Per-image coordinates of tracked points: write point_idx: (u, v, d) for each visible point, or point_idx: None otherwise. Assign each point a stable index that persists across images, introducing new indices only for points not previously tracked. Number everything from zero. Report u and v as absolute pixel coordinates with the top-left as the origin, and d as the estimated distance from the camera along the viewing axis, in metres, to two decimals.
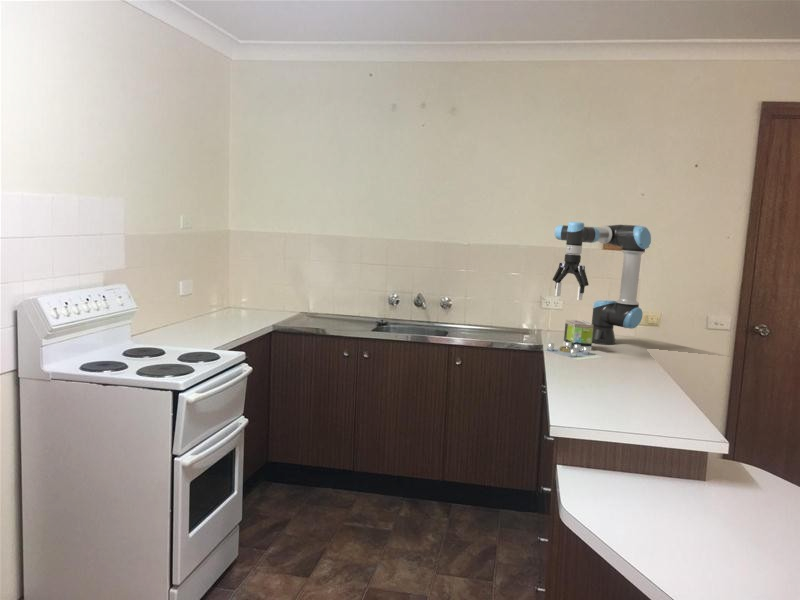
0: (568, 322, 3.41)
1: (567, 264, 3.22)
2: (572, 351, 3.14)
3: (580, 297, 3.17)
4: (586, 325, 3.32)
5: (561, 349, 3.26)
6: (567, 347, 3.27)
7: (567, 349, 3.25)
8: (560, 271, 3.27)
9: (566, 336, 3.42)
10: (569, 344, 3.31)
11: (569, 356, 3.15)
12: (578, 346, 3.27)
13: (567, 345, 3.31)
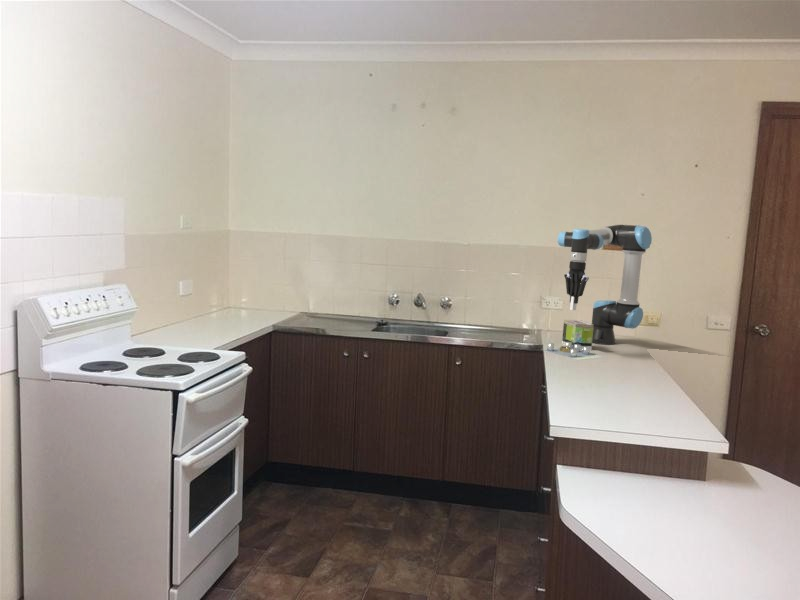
0: (567, 322, 3.41)
1: (571, 270, 3.21)
2: (572, 351, 3.14)
3: (574, 307, 3.22)
4: (586, 325, 3.33)
5: (561, 349, 3.26)
6: (567, 347, 3.27)
7: (567, 349, 3.25)
8: (569, 282, 3.24)
9: (565, 336, 3.42)
10: (569, 344, 3.31)
11: (569, 356, 3.15)
12: (578, 346, 3.27)
13: (567, 345, 3.31)
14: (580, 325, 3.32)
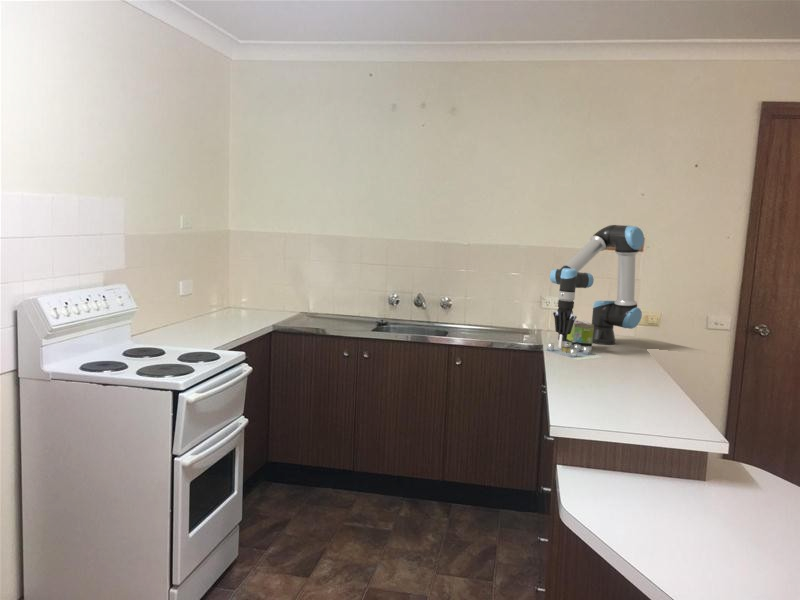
0: None
1: (559, 308, 3.27)
2: (572, 351, 3.14)
3: (562, 345, 3.28)
4: (586, 325, 3.33)
5: (563, 349, 3.25)
6: (569, 347, 3.26)
7: (569, 349, 3.24)
8: (558, 320, 3.30)
9: (567, 336, 3.43)
10: (569, 344, 3.31)
11: (569, 356, 3.15)
12: (578, 346, 3.27)
13: (567, 345, 3.31)
14: (580, 325, 3.32)
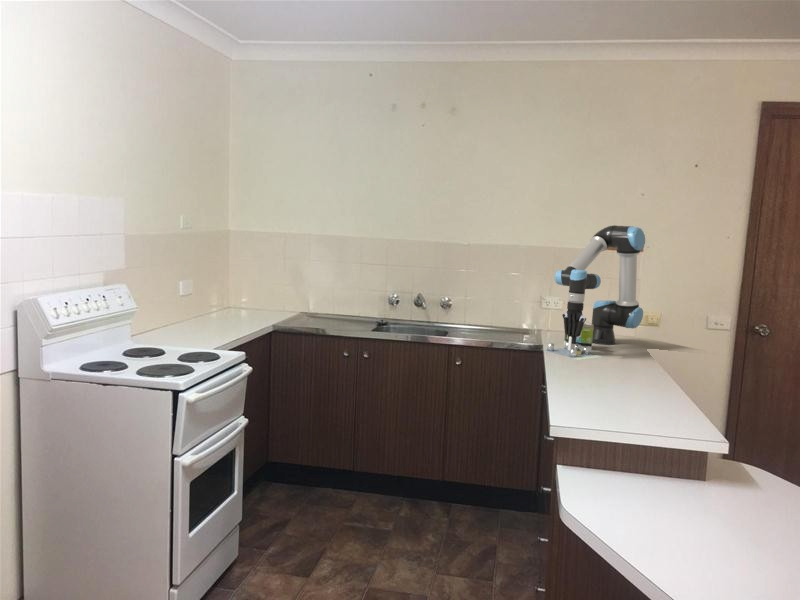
0: None
1: (569, 310, 3.23)
2: (572, 351, 3.14)
3: (572, 347, 3.23)
4: (586, 325, 3.33)
5: None
6: (578, 350, 3.22)
7: (579, 352, 3.19)
8: (567, 322, 3.25)
9: (567, 336, 3.43)
10: None
11: (569, 356, 3.15)
12: (578, 346, 3.27)
13: (567, 345, 3.31)
14: None
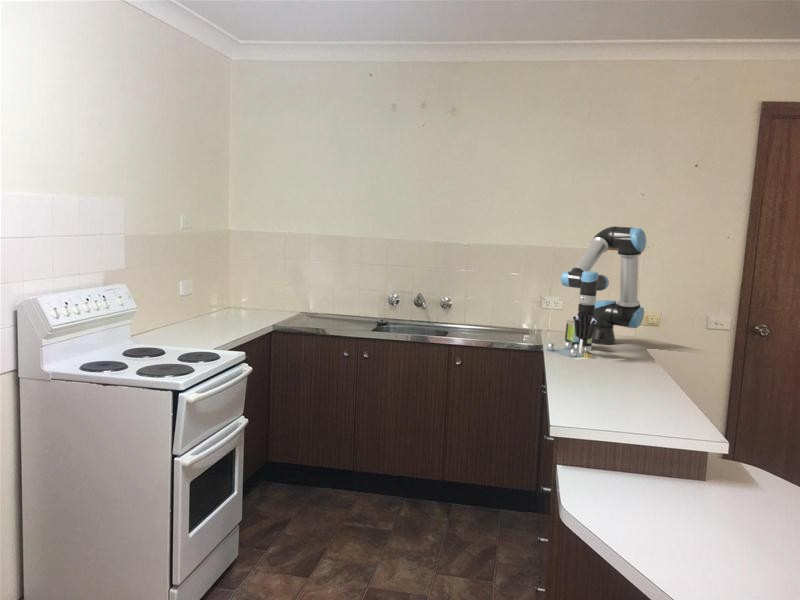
0: (569, 322, 3.42)
1: (580, 312, 3.18)
2: (572, 351, 3.14)
3: (583, 350, 3.18)
4: None
5: (584, 355, 3.15)
6: (589, 353, 3.17)
7: (590, 355, 3.14)
8: (578, 324, 3.20)
9: (567, 336, 3.43)
10: (569, 344, 3.31)
11: (569, 356, 3.15)
12: (578, 346, 3.27)
13: (567, 345, 3.31)
14: None
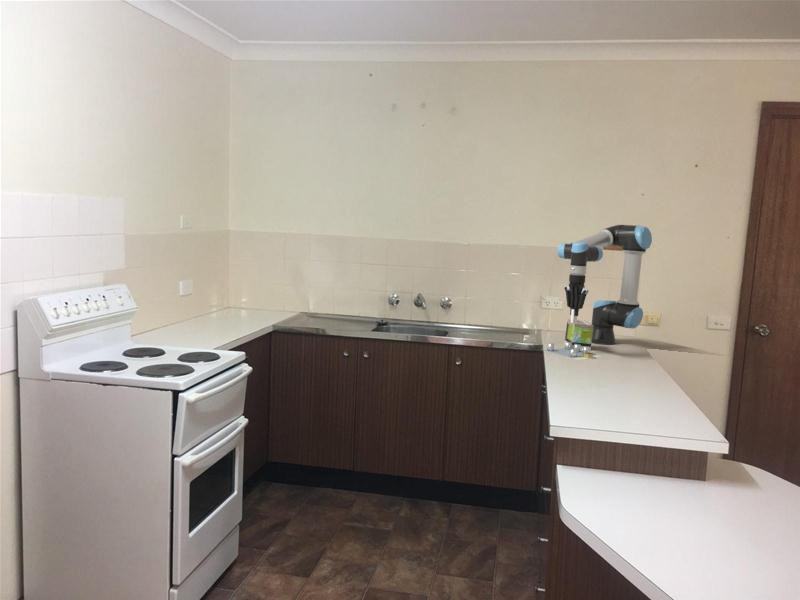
0: (569, 322, 3.42)
1: (571, 282, 3.24)
2: (572, 351, 3.14)
3: (574, 320, 3.24)
4: (586, 325, 3.33)
5: (584, 355, 3.15)
6: (590, 353, 3.17)
7: (591, 355, 3.14)
8: (569, 295, 3.26)
9: (567, 335, 3.43)
10: (569, 344, 3.31)
11: (569, 356, 3.15)
12: (578, 346, 3.27)
13: (567, 345, 3.31)
14: (579, 325, 3.33)
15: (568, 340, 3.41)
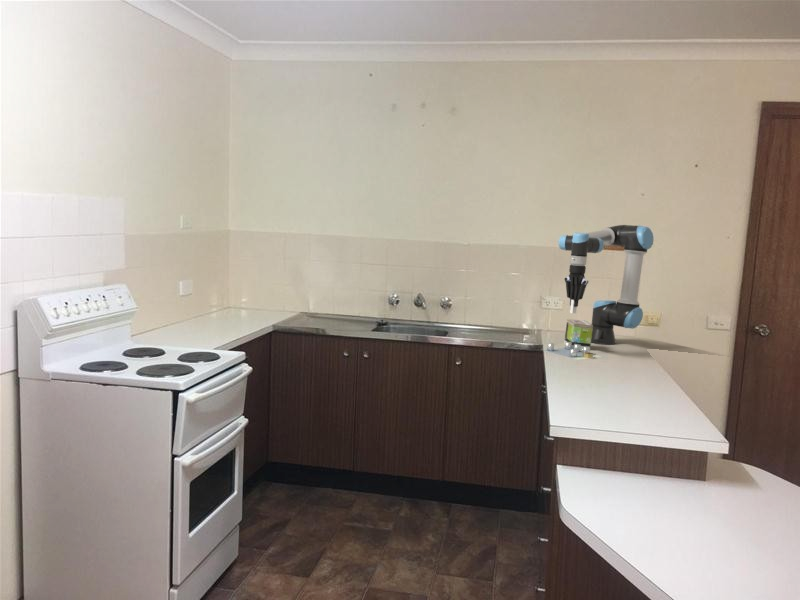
0: (569, 321, 3.43)
1: (571, 273, 3.24)
2: (572, 351, 3.14)
3: (574, 310, 3.24)
4: (585, 325, 3.33)
5: (584, 355, 3.15)
6: (590, 353, 3.17)
7: (591, 355, 3.14)
8: (569, 285, 3.26)
9: (567, 335, 3.44)
10: (569, 344, 3.31)
11: (569, 356, 3.15)
12: (578, 346, 3.27)
13: (567, 345, 3.31)
14: (578, 325, 3.33)
15: (568, 340, 3.41)
